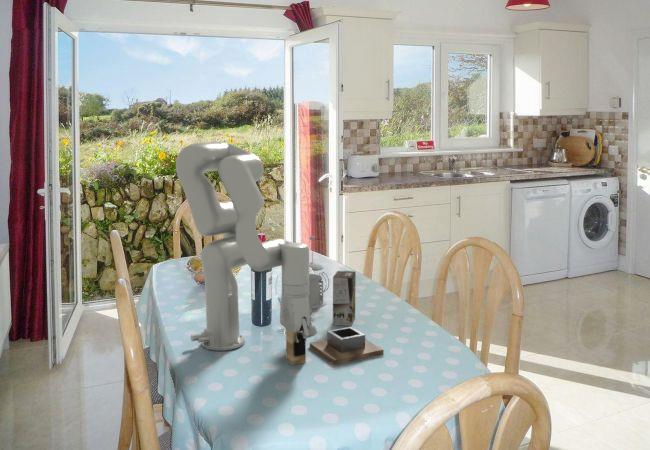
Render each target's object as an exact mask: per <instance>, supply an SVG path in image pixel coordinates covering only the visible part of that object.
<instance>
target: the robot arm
mask: <svg viewBox="0 0 650 450" xmlns="http://www.w3.org/2000/svg"><path fill="white" fill-rule="evenodd" d="M175 171H176V174H177V175H176V176H177V178H178V181H179V184H180V186H181V188H182V190H183V192H184V195H185V197H186V200H187V204H188V207H189V210H190V214H191V216H192V219H193V222H194V225H195V228H196V231H197V232H198V234H199V235H200V236H202V237H206V238H209V237H215V236H219V235H223V238H220V239H216V240H213V241H210V242H208V243H207V244H205V245H204V247H203V248H202V250H201V252H200V263H201V264H200V265H201V267H202V274H203V278H204V289H205V290H204V291H205V292H204V293H205V311H206V312H205V313H206V315H205V316H206V317H205V319H206V328H203V331H202V332H201V333H199V334H198V333H196V334H191V335H190V340H191V342H197V343H199V344H200V343H201V345H202V348H205V349H207V350H211V351H218V352H219V351H220V352H221V351H231V350H235V349H238V348H240V347H242V346H243V345H244V344H245V337H244V336H243V335H241V334H240V322H239V321H240V317H239V316H240V315H239V313H240V312H239V287H238V281H237V279H236V277H235V274H234V272H233V270H235V269H238V268H240V267H244V266H246V265H247V266H248V267H250V268H251V270H252V271H255V272H265V271H268V270H270V269H273V268H277V267H280V266H281V295H280V307H279V309H280V310H279V323H280V325H281V326H283V327H284V328H285V329H286V328H287V329H288V330H290V331H291V332H293V333H295V341H296V342H294V355H295V356H300V355H305V341H306V342H307V338H308V337H310V335H309V331H308V330H309V328H310V309H309V299H308V295H309V274H310V271H309V263H310V248H309V246H308V245H307V244H305V243H302V242H291V241H289V240H286V239H284V238H273V239H269V240H266V241H261V239H260V237H259V235H258V232H257V228H256V219H257V216H258V214H259V212H260V211H261V210H262V209H263V208H264V205H265V203H266V202H265V198H264V197H263V194H262V193H261V191H260V189H259V187H258V184H257V183H256V182H258V181H260V180H261V179H262V177H263V175H264V172H265V171H264V165H263V163H262V161H261V159H260V158H259V157H258V156H257V155H255V154H254V153H252V152H250V151H247V150H245V149H243V148H241V147H239V146H236V145H234V144H231V143H230V142H226V141H210V142H207V141H205V142H198V143H197V142H196V143H192V144H189V145H185V147H183V148H182V149H180V151H179V153H178V154H177V157H176V161H175ZM216 171H217V173H218V176H219V178H220V180H221V181H220V182H221V184H222V185H223V187H224V189H225V191H226V194H227V196H228V198H229V200H230V201H229V200H224V201H220V200H219V199H218V196H217V195H218V194H217V191H216V189H215V186H214V185H213V184H212V182H211V181H210V179H209V178H208V177H207V176H206V175H205V173H209V172H210V173H211V172H216ZM300 328H302V330H300ZM298 333H302V334H301V335H300V336H298Z"/></svg>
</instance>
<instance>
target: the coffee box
mask: <svg viewBox="0 0 650 450" xmlns="http://www.w3.org/2000/svg"><path fill="white" fill-rule="evenodd" d="M355 319H356V271H350V270H342V271H341V270H337V271H336V272H335V274H334V275H333V276H332V325H333V326H334V325H335V326H345V327H346V326H347V327H352V325H353V323H354V321H355Z"/></svg>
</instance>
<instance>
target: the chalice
mask: <svg viewBox="0 0 650 450" xmlns="http://www.w3.org/2000/svg"><path fill="white" fill-rule="evenodd" d="M321 277H322V275H321V274H320V275H319V274H314V273H313V274H312V273H309V295H308V299H309V309H310V328H309V330H308V331H309V336H314V335H315V336H316V335H317V334H318V333H319V332H318V331H317V327H316V325H314V324H313V323H312V319H313V317H312V313H313V311H312V308H311V306H312V305H314V304H315V301H316V299H317V297H318V294H319V284H320V283H319V280H320V278H321Z"/></svg>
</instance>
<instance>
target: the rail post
mask: <svg viewBox="0 0 650 450" xmlns="http://www.w3.org/2000/svg"><path fill="white" fill-rule="evenodd" d="M300 330H302V328H300ZM301 334H302V333H298V336H300V335H301ZM294 342H296V341H295V333H293V332H291V331H290V330H288V329H287V328H285V344H286V346H285V349H286V351H285V352H286V353H285V354H286V355H285V356H286V358H285V359H286V361H287V362H288V363H289V364H291V366H295V365H301V364H304V363H306V362H307V361H306V360H307V359H306V357H307V356H306V348H307V347H306V342H307V340H306V341H305V355H300V356H295V355H294Z"/></svg>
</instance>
